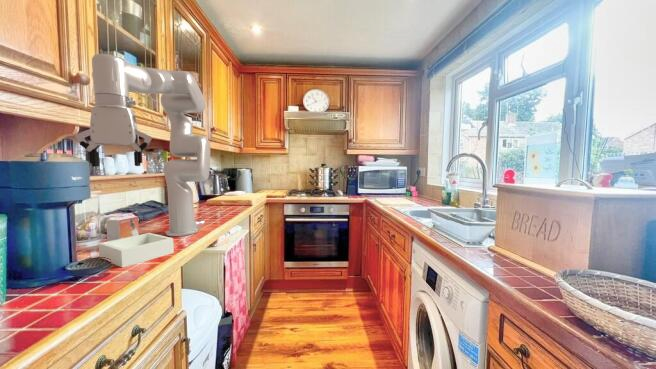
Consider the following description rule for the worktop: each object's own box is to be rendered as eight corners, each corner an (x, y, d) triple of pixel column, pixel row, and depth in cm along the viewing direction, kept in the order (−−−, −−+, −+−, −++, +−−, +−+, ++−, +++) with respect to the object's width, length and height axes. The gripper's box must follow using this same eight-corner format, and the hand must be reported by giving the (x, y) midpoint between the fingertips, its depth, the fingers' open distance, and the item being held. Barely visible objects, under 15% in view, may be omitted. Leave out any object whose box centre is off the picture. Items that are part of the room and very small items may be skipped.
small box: (120, 250, 96) (118, 220, 95) (107, 249, 97) (105, 219, 96) (140, 243, 104) (138, 215, 103) (128, 242, 105) (126, 215, 104)
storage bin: (149, 246, 100) (149, 232, 100) (173, 252, 93) (173, 238, 92) (99, 258, 87) (98, 243, 87) (122, 267, 80) (121, 250, 79)
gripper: (152, 108, 82) (155, 165, 84) (79, 104, 76) (84, 166, 77) (146, 103, 75) (150, 165, 77) (65, 98, 69) (71, 166, 70)
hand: (117, 166), depth 77 cm, fingers open, 9 cm apart
